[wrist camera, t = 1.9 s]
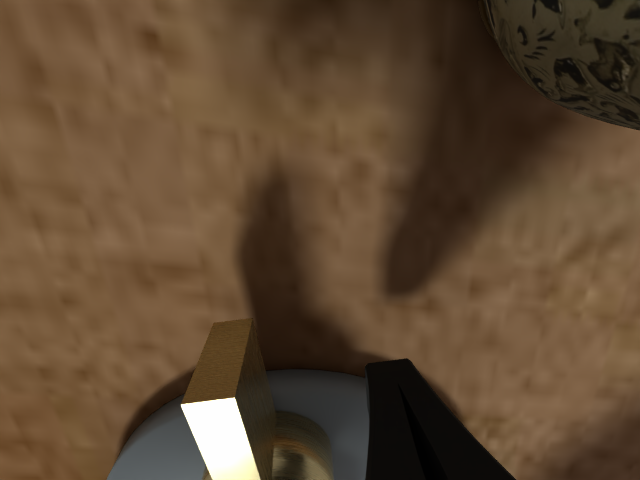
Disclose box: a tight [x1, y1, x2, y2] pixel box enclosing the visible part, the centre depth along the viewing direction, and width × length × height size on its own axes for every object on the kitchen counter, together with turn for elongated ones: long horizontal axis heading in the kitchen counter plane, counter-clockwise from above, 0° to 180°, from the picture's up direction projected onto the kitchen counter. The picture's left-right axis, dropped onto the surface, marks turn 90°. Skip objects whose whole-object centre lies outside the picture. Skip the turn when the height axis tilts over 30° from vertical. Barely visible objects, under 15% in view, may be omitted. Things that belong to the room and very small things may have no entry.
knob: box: [181, 318, 334, 480], centre depth 10 cm, size 9×5×3 cm, turn 6°
